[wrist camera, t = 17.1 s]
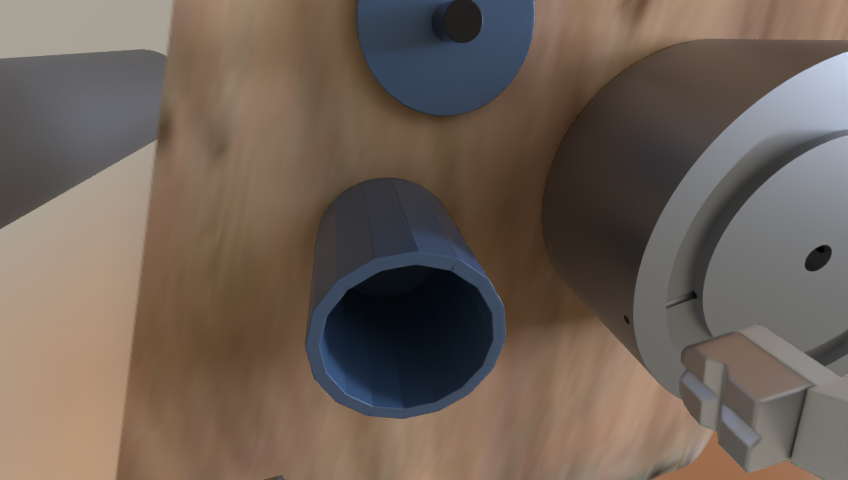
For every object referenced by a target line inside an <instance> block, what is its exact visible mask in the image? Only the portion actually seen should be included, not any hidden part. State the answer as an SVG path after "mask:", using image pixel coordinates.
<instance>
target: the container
mask: <svg viewBox="0 0 848 480" xmlns="http://www.w3.org/2000/svg"><path fill="white" fill-rule="evenodd" d="M542 221H543V232H544V238H545V243H546V247H547V251H548V253H549V256H550V259H551V261H552V263H553V265H554V267H555V269H556V270H557V272H558V273H559V275H560V276H561V278H562V279H563V280H564V281H565V282H566V284H567V285H568V286H569V287H570V288H571V289H572V290H573V291H574V292H575V293H576V294H577V295H578V297H579V298H580V299H581V300H582V301H583V302H584V303H585V304H586V305H587V306H588V307H589V308H590V309H591V311H592V312H593V313H594V314H595V315H596V316H597V317H598V318H599V319H600V320H601V321H602V322H603V323H604V325H605V326H606V327H607V328H608V329H609V330H610V331H611V332H612V333H613V334H614V335H615V336H616V337H617V339H618V340H619V341H620V342H621V343H622V344H623V345H624V346H625V347H626V348H627V349H628V350H629V351H630V353H631V354H632V355H633V356H634V357H635V358H636V359H637V360H638V361H639V362H640V363H641V364H642V365H643V367H644V368H645V369H646V370H647V371H648V372H649V373H650V374H651V375H652V376H653V377H654V378H655V379H656V381H657V382H658V383H659V384H660V385H661V386H663V387H664V388H665V389H666V390H667V391H669V392H670V393H671V394H673V395H675V396H676V397H678V398H680V399H682V397H681V394H680V392H679V378H680V377H681V376H682V374H683V373H684V371H685V370H686V367H685V366H684V365H683V364H682V363H681V362H680V361H681V352H682V351H683V349H684V348H685V347H686V346H689V345H692V344H695V343H698V342H701V341H704V340H707V339H710V338H713V337H716V336H719V335H722V334H725V333H730V332H732V331H736V330H739V329H742V328H745V327H748V326H751V325H754V324H756V325H760V326H763V327H765V328H767V329H768V330H770V331H772V332H773V333H775V334H776V335H778V336H779V337H781V338H782V339H784V340H785V341H787V342H788V343H790V344H791V345H793V346H794V347H796V348H797V349H799V350H800V351H802V352H803V353H805V354H806V355H808V356H809V357H811V358H812V359H814V360H815V361H817V362H818V363H820V364H821V365H823V366H825V367H826V368H828V369H829V370H831V371H832V372H834V373H835V374H837V375H838V376H840V377H843V376H844V375H846V374H848V40H748V39H705V40H695V41H690V42H685V43H681V44H677V45H674V46H670V47H667V48H665V49H662V50H660V51H657V52H655V53H653V54H651V55H649V56H647V57H645V58H643V59H641V60H640V61H638V62H636V63H635V64H633V65H631V66H630V67H628V68H627V69H626V70H624V71H623V72H621V73H620V74H619V75H617V76H616V77H615V78H614V79H612V80H611V81H610V82H609V83H608V84H607V85H606V86H605V87H603V88H602V89H601V90H600V91H599V92H598V93H597V94H596V95H595V96H594V98H593V99H592V100H591V101H590V102H589V103H588V104H587V105H586V107H585V108H584V109H583V110H582V112H581V113H580V114H579V116H578V117H577V118H576V120H575V121H574V123H573V124H572V126H571V127H570V129H569V131H568V132H567V134H566V136H565V137H564V139H563V141H562V143H561V145H560V147H559V149H558V151H557V153H556V156H555V158H554V161H553V163H552V166H551V169H550V172H549V175H548V179H547V183H546V187H545V193H544V200H543V212H542Z"/></svg>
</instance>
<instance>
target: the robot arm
mask: <svg viewBox="0 0 848 480" xmlns="http://www.w3.org/2000/svg"><path fill="white" fill-rule="evenodd" d="M680 362H681V363H682V364H683V365H684V366H685V367H686V370H685V371H684V373H683V374H682V376H681V377H680V378H679V392H680V394H681V397H682V400H683V402H684V405H685V406H686V408H687V409H688V411H689V412H690V414H691V415H692V416H693V417H694V418H695V419H696V420H697V422H698V423H699V424H700V425H702V426H704V427H707V428H709V429H712V430H714V431H716V432H717V437H718V443H719V445H720V446H721V447H722V448H723V449H724V450H725V451H726V452H727V453H728V454H729V455H730V456H731V457H732V458H733V459H734V460H735V461H736V462H737V463H738V464H739V465H740V466H741V467H742V468H743V469H744V470H745V471H746V472H747V473H749V472H753V471H756V470H759V469H762V468H765V467H768V466H772V465H775V464H778V463H782V462H785V461H788V460H791V461H790V463H792V464H794V465H796V466H798V467H800V468H802V469H804V470H806V471H808V472H809V473H811V474H814V475H815V476H817V477H819V478H821V479H823V480H848V376H844V377H840V376H838V375H837V374H835V373H834V372H832V371H831V370H829V369H828V368H826V367H825V366H823V365H821V364H820V363H818V362H817V361H815V360H814V359H812V358H811V357H809V356H808V355H806V354H805V353H803V352H802V351H800V350H799V349H797V348H796V347H794V346H793V345H791V344H790V343H788V342H787V341H785V340H784V339H782V338H781V337H779V336H778V335H776V334H775V333H773V332H772V331H770V330H768V329H767V328H765V327H763V326H760V325H756V324H754V325H751V326H748V327H745V328H742V329H739V330H736V331H732V332H730V333H725V334H722V335H719V336H716V337H713V338H710V339H707V340H704V341H701V342H698V343H695V344H692V345H689V346H686V347H685V348H684V349H683V351H682V352H681V361H680ZM265 480H284V478H283V476H276V477H272V478H269V479H265Z"/></svg>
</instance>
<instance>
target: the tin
mask: <svg viewBox="0 0 848 480" xmlns="http://www.w3.org/2000/svg"><path fill="white" fill-rule="evenodd" d="M505 338H506V331H505V308H504V305H503V303H502V301H501V299H500V298H499V296H498V294H497V292H496V291H495V289H494V287H493V285H492V283H491V282H490V280H489V278H488V277H487V275H486V273H485V272H484V270H483V269H482V267H481V265H480V264H479V262H478V261H477V259H476V257H475V256H474V254H473V253H472V251H471V249H470V248H469V246H468V245H467V243H466V241H465V240H464V238H463V237H462V235H461V233H460V232H459V230H458V229H457V227H456V225H455V224H454V222H453V221H452V219H451V217H450V216H449V214H448V213H447V211H446V209H445V208H444V206H443V205H442V203H441V201H440V200H439V199H438V198H436V197H435V196H434V195H433V194H432V193H430V192H429V191H428V190H426V189H425V188H423V187H422V186H420V185H418V184H415V183H413V182H410V181H407V180H403V179H397V178H378V179H372V180H368V181H365V182H362V183H359V184H357V185H355V186H353V187H351V188H349V189H348V190H346V191H345V192H343V193H342V194H341V195H340V196H338V197H337V198H336V199H335V200H334V201H333V202H332V204H331V205H330V206H329V207H328V209H327V211H326V212H325V214H324V216H323V218H322V219H321V221H320V226H319V229H318V235H317V240H316V245H315V254H314V264H313V273H312V283H311V292H310V302H309V311H308V321H307V330H306V340H305V349H306V352H307V356H308V359H309V363H310V366H311V370H312V374H313V377H314V379H315V380H316V381H317V382H318V383H319V384H320V385H321V387H322V388H323V389H324V390H325V391H326V392H327V393H328V394H329V395H330V396H331V397H332V398H333V399H334V401H335V402H337V403H339V404H342V405H344V406H346V407H348V408H351V409H353V410H355V411H357V412H360V413H362V414H364V415H368V416H374V417H387V418H399V419H405V418H409V417H414V416H419V415H423V414H428V413H432V412H437V411H440V410H441V409H443V408H445V407H447V406H449V405H451V404H452V403H454V402H456V401H458V400H460V399H461V398H463V397H465V396H467V395H469V393H471V392H472V391H473V390H474V389H475V388H476V387H477V385H478V384H479V383H480V382H481V381H482V380H483V379H484V378H485V377H486V376H487V375H488V374H489V373H490V372H491V371H492V369H493V368H494V366H495V363H496V361H497V359H498V356H499V354H500V351H501V349H502V347H503V344H504V342H505Z"/></svg>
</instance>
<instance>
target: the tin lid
mask: <svg viewBox="0 0 848 480" xmlns="http://www.w3.org/2000/svg"><path fill="white" fill-rule="evenodd" d="M534 17H535V8H534V0H358V2H357V18H356V21H357V31H358V37H359V42H360V46H361V49H362V52H363V55H364V58H365V60H366V62H367V64H368V66H369V68H370V70H371V72H372V73H373V75H374V77H375V78H376V80H377V81H378V82H379V83H380V84H381V86H382V87H383V88H384V89H385V90H386V91H387V92H388V93H389V94H390V95H391V96H392V97H393V98H395V99H396V100H398V101H399V102H400V103H402V104H403V105H405V106H407V107H409V108H411V109H413V110H416V111H419V112H422V113H425V114H430V115H437V116H451V115H458V114H463V113H467V112H470V111H473V110H475V109H478V108H480V107H482V106H483V105H485V104H487V103H488V102H490V101H491V100H493V99H494V98H496V97H497V96H498V95H499V94H500V93H501V92H502V91H504V89H505V88H506V87H507V86H508V85H509V84H510V83H511V82H512V80H513V79H514V77H515V76H516V74H517V73H518V71H519V70H520V68H521V66H522V64H523V62H524V60H525V58H526V55H527V53H528V50H529V47H530V43H531V40H532V35H533V29H534Z"/></svg>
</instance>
